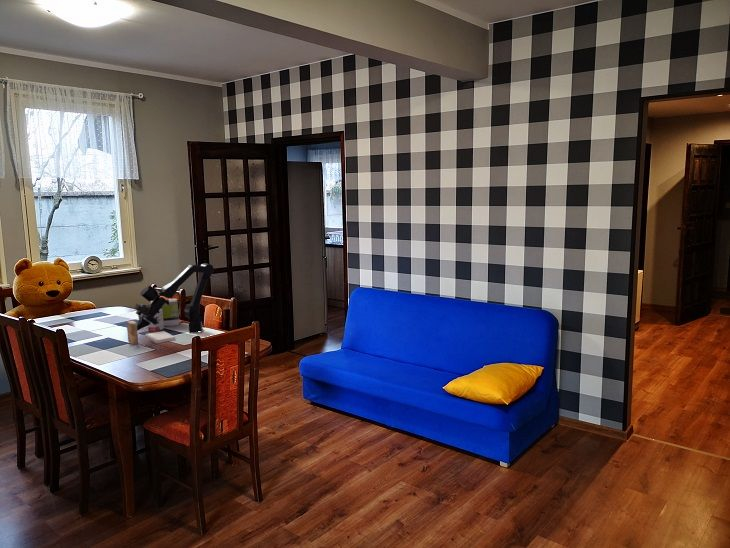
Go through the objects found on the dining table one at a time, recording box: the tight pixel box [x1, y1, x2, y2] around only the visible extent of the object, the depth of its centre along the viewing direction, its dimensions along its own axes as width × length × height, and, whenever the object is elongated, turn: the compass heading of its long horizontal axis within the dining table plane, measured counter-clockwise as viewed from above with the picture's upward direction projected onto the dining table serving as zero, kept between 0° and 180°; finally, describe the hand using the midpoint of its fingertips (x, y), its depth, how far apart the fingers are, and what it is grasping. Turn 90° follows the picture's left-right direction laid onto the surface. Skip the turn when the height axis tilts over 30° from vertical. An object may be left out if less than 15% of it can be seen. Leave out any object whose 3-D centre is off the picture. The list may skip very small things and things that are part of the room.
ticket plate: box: [145, 330, 176, 344], centre depth 297 cm, size 10×17×2 cm, turn 39°
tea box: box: [149, 298, 180, 327], centre depth 325 cm, size 15×10×15 cm, turn 108°
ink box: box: [147, 309, 165, 333], centre depth 314 cm, size 9×5×12 cm, turn 168°
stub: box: [126, 320, 139, 345], centre depth 288 cm, size 3×7×11 cm, turn 39°
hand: (135, 330), depth 289 cm, fingers closed, pressing on stub
